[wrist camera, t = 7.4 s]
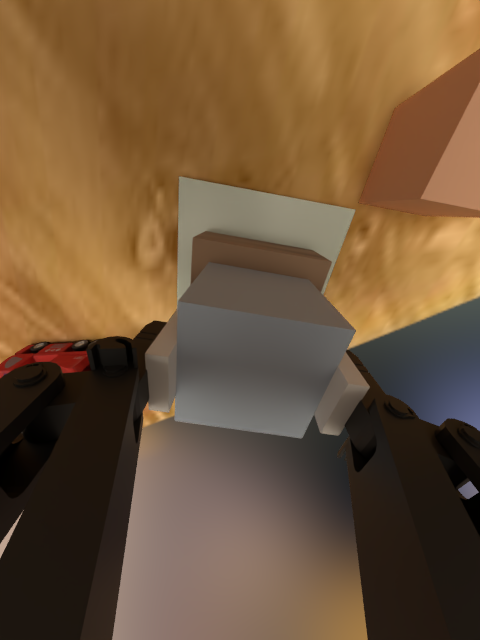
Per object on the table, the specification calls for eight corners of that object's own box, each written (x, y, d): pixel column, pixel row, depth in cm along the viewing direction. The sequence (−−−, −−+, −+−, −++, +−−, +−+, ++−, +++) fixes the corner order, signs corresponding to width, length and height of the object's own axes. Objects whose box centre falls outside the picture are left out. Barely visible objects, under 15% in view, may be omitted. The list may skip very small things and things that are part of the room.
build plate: (183, 178, 14) (178, 176, 13) (349, 209, 15) (355, 209, 14) (179, 325, 20) (176, 331, 19) (299, 344, 20) (302, 350, 19)
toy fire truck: (27, 341, 22) (-118, 427, 13) (152, 336, 21) (86, 424, 12) (43, 366, 23) (-76, 457, 15) (161, 362, 22) (107, 456, 14)
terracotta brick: (394, 108, 12) (506, 30, 7) (472, 125, 12) (637, 62, 7) (358, 203, 15) (420, 198, 9) (424, 215, 15) (521, 218, 10)
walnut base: (205, 231, 15) (192, 237, 11) (312, 250, 15) (332, 261, 12) (198, 325, 19) (187, 352, 15) (284, 338, 19) (292, 367, 15)
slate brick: (208, 262, 12) (177, 301, 7) (308, 279, 12) (356, 330, 7) (201, 345, 15) (174, 420, 9) (282, 358, 15) (301, 438, 10)
